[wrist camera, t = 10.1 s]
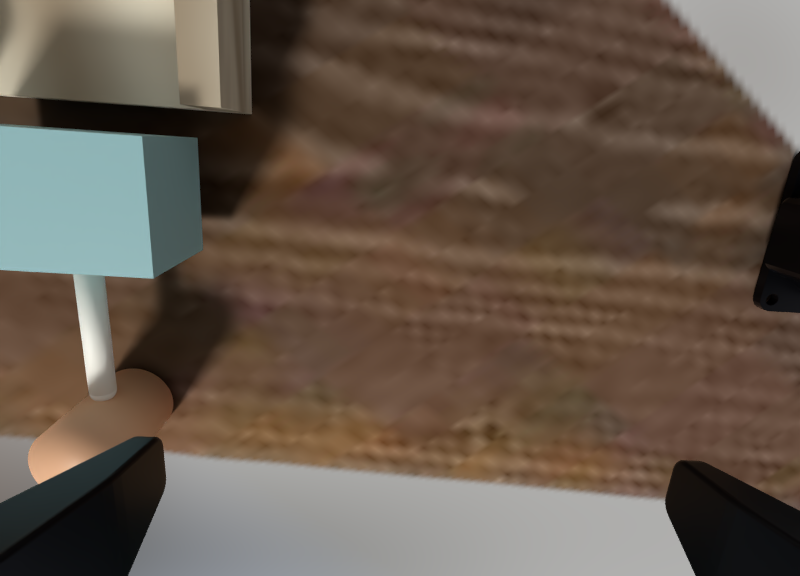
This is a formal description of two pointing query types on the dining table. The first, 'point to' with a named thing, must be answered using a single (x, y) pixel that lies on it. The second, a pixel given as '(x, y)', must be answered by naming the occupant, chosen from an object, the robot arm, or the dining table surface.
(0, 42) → the lane
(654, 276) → the dining table surface
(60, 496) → the robot arm
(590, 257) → the dining table surface
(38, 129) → the lever with tan knob
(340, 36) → the dining table surface
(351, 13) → the dining table surface
